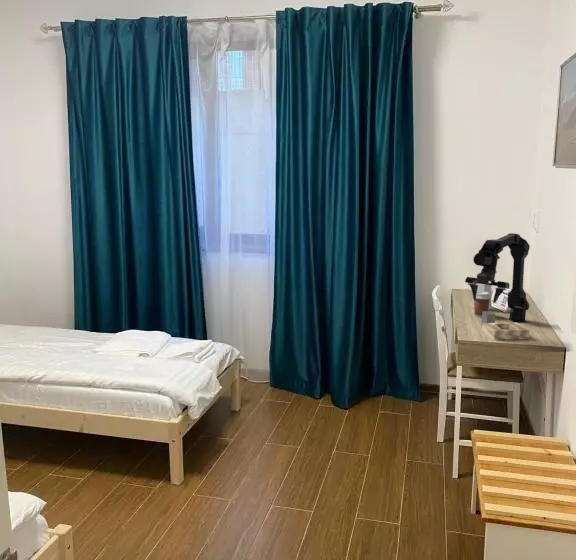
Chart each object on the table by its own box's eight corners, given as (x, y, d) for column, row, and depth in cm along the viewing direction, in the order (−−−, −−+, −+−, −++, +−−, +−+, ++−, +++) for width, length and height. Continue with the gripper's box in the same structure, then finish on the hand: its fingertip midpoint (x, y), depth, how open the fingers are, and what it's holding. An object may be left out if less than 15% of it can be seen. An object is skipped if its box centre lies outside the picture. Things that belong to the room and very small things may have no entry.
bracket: (489, 325, 294) (490, 311, 293) (496, 329, 287) (497, 314, 285) (481, 325, 294) (482, 311, 293) (487, 329, 286) (488, 315, 285)
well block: (515, 330, 284) (516, 322, 283) (529, 338, 270) (529, 330, 270) (481, 331, 283) (482, 323, 282) (493, 339, 269) (494, 331, 269)
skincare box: (491, 309, 327) (492, 282, 324) (484, 311, 323) (485, 283, 321) (478, 306, 333) (480, 279, 331) (471, 308, 330) (472, 281, 328)
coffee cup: (494, 316, 310) (495, 293, 308) (478, 318, 308) (479, 295, 305) (483, 313, 319) (484, 290, 317) (468, 314, 316) (469, 291, 314)
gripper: (463, 263, 277) (457, 297, 277) (504, 268, 265) (498, 304, 266) (472, 265, 286) (467, 298, 286) (512, 270, 274) (506, 305, 275)
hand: (484, 301), depth 278 cm, fingers open, 9 cm apart
